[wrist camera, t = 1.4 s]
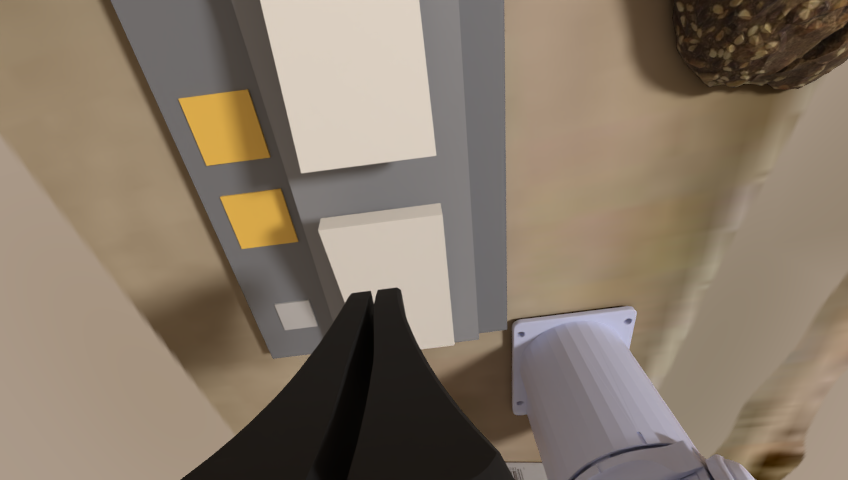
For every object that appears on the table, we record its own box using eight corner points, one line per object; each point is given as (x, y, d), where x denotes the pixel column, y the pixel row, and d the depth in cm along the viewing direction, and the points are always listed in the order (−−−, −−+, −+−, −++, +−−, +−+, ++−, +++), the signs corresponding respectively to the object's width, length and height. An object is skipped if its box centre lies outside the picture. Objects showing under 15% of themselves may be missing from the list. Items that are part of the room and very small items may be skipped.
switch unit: (503, 318, 25) (513, 347, 23) (277, 347, 25) (265, 377, 23) (495, -216, 13) (514, -262, 11) (60, -153, 13) (-7, -186, 11)
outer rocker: (434, 151, 15) (436, 155, 14) (309, 167, 15) (301, 173, 14) (402, -138, 12) (400, -165, 11) (245, -116, 12) (226, -140, 11)
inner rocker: (451, 325, 22) (454, 345, 21) (365, 336, 22) (364, 356, 21) (439, 196, 16) (442, 214, 15) (322, 211, 16) (318, 230, 15)
